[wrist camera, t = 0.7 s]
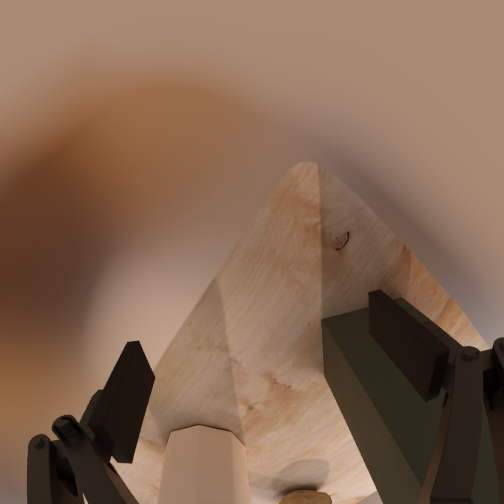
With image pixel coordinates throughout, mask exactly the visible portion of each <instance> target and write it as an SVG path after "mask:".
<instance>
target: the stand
mask: <svg viewBox="0 0 504 504" xmlns="http://www.w3.org/2000/svg"><path fill="white" fill-rule="evenodd" d="M394 301H395V302H396V303H397V304H399V305H400V306H401V307H402V308H403V309H405V310H406V311H407V312H408V313H409V314H411V315H412V316H413V317H414V318H415V319H416V320H418V321H419V322H420V323H422V322H424V321H428V322H430V323H433V324H435V323H434V322H433V321H431V320H430V319H429V318H428V317H426V316H425V315H424V314H422V313H421V312H420V311H419V310H417V309H416V308H415V307H414V306H412V305H411V304H410V303H408V302H407V301H406V300H405V299H403V298H400V299H397V300H394ZM321 323H322V337H323V354H324V374H325V378H326V380H327V383H328V385H329V387H330V389H331V391H332V393H333V395H334V397H335V400H336V402H337V404H338V406H339V408H340V410H341V412H342V415H343V417H344V419H345V421H346V423H347V425H348V427H349V430H350V432H351V434H352V436H353V438H354V440H355V443H356V445H357V447H358V449H359V451H360V453H361V456H362V458H363V460H364V462H365V464H366V467H367V469H368V471H369V473H370V475H371V478H372V480H373V482H374V484H375V486H376V489H377V491H378V493H379V495H380V498H381V500H382V502H383V504H417V502H418V499H419V496H420V493H421V490H422V488H423V485H424V482H425V478H426V475H427V472H428V469H429V465H430V462H431V458H432V454H433V450H434V446H435V442H436V438H437V434H438V429H439V424H440V419H441V414H442V407H441V405H442V402H443V399H444V396H445V393H446V391H445V390H444V389H443V388H442V387H441V390H440V393H439V396H438V397H436V398H434V399H432V400H430V401H428V402H426V403H425V401H424V400H423V399H422V397H421V396H420V395H419V394H418V392H417V391H416V390H415V389H414V387H413V386H412V385H411V384H410V382H409V381H408V380H407V379H406V377H405V376H404V375H403V374H402V372H401V371H400V370H399V369H398V368H397V366H396V365H395V364H394V363H393V361H392V360H391V359H390V358H389V357H388V355H387V354H386V353H385V352H384V350H383V349H382V348H381V347H380V346H379V344H378V343H377V342H376V341H375V340H374V338H373V337H372V336H371V335H370V334H369V308H366V309H362V310H358V311H355V312H351V313H347V314H343V315H339V316H335V317H331V318H327V319H323V320H321ZM435 325H436V324H435ZM436 326H438V325H436ZM438 327H439V326H438ZM439 328H440V327H439ZM440 329H441V328H440ZM441 330H442V329H441ZM443 331H444V330H443ZM444 332H445V331H444ZM445 333H446V332H445ZM446 334H447V333H446ZM447 335H449V334H447ZM449 336H450V335H449ZM450 337H451V336H450ZM451 338H452V337H451ZM452 339H453V338H452ZM453 340H455V339H453ZM455 341H456V340H455ZM456 342H457V341H456ZM457 343H458V342H457ZM458 344H459V343H458ZM459 345H460V346H462V345H461V344H459ZM462 347H463V346H462ZM471 500H472V501H473V504H499V493H498V481H497V471H496V463H495V456H494V450H493V444H492V438H491V433H490V428H489V423H488V419H487V414H486V410H485V406H484V402H483V411H482V427H481V438H480V447H479V455H478V461H477V468H476V473H475V479H474V484H473V488H472V493H471Z"/></svg>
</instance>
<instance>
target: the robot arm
mask: <svg viewBox="0 0 504 504" xmlns="http://www.w3.org/2000/svg"><path fill="white" fill-rule="evenodd" d="M368 295H369V334H370V335H371V336H372V337H373V338H374V340H375V341H376V342H377V343H378V344H379V346H380V347H381V348H382V349H383V350H384V352H385V353H386V354H387V355H388V357H389V358H390V359H391V360H392V361H393V363H394V364H395V365H396V366H397V368H398V369H399V370H400V371H401V372H402V374H403V375H404V376H405V377H406V379H407V380H408V381H409V382H410V384H411V385H412V386H413V387H414V389H415V390H416V391H417V392H418V394H419V395H420V396H421V397H422V399H423V400H424V401H425V403H426V402H428V401H430V400H432V399H434V398H436V397H438V396H439V393H440V390H441V387H442V388H443V389H444V390H445V391H446V393H445V396H444V399H443V402H442V405H441V407H442V414H441V419H440V424H439V429H438V434H437V438H436V442H435V446H434V450H433V454H432V458H431V462H430V465H429V469H428V472H427V475H426V478H425V482H424V485H423V488H422V490H421V493H420V496H419V499H418V502H417V504H473V501H472V500H471V493H472V488H473V484H474V479H475V473H476V468H477V461H478V455H479V447H480V438H481V427H482V411H483V402H484V406H485V410H486V414H487V419H488V423H489V428H490V433H491V438H492V444H493V450H494V456H495V463H496V471H497V481H498V493H499V504H504V337H502V338H498V339H496V340H495V341H494V344H493V348H492V349H489V350H485V351H481V352H480V351H479V350H478V349H477V348H475V347H471V346H465V347H462V346H460V345H459V344H458V343H457V342H456V341H455V340H453V339H452V338H451V337H450V336H449V335H447V334H446V333H445V332H444V331H443V330H441V329H440V328H439V327H438V326H436V325H435V324H433V323H430V322H428V321H424V322H422V323H420V322H419V321H418V320H416V319H415V318H414V317H413V316H412V315H411V314H409V313H408V312H407V311H406V310H405V309H403V308H402V307H401V306H400V305H399V304H397V303H396V302H395V301H394V300H392V299H391V298H390V297H389V296H388V295H386V294H385V293H384V292H383V291H381V290H380V289H379V290H376V291H372V292H369V293H368ZM154 381H155V376H154V373H153V371H152V369H151V367H150V365H149V363H148V360H147V358H146V356H145V354H144V352H143V349H142V346H141V344H140V342H139V341H132V342H127V344H126V346H125V347H124V350H123V351H122V353H121V355H120V357H119V359H118V361H117V363H116V365H115V367H114V369H113V371H112V373H111V375H110V377H109V379H108V381H107V383H106V385H105V387H104V389H103V390H98V391H97V392H96V393H95V394H94V395H93V396H92V398H91V400H90V402H89V404H88V406H87V408H86V410H85V412H84V414H83V416H82V418H81V420H80V422H79V423H78V422H77V421H76V419H75V418H74V417H73V416H72V415H64V416H61V417H59V418H57V419H56V420H55V421H54V423H53V425H52V431H53V432H54V434H55V435H56V436H57V437H58V439H59V440H54V441H51V440H50V439H49V438H48V437H47V436H46V435H44V434H39V435H36V436H34V437H33V438H32V439H31V440H30V442H29V445H28V459H27V501H28V503H27V504H85V503H84V498H83V494H84V496H85V498H86V500H87V502H88V504H139V503H138V501H137V500H136V499H135V497H134V496H133V495H132V493H131V492H130V490H129V489H128V488H127V486H126V485H125V483H124V482H123V480H122V479H121V477H120V476H119V474H118V473H117V471H116V469H115V468H114V466H113V465H112V464H111V463H110V459H111V456H112V457H113V458H114V459H115V460H116V461H117V462H118V463H130V464H132V461H133V457H134V453H135V449H136V446H137V442H138V438H139V434H140V430H141V427H142V423H143V419H144V416H145V412H146V408H147V405H148V401H149V398H150V394H151V391H152V388H153V384H154ZM82 492H83V493H82Z"/></svg>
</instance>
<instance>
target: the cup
mask: <svg viewBox="0 0 504 504" xmlns="http://www.w3.org/2000/svg"><path fill="white" fill-rule="evenodd" d="M158 504H251V503H250V493H249V483H248V473H247V463H246V453H245V447H244V445H243V444H242V443H241V442H240V441H239V440H238V439H237V438H236V437H235V435H234V434H233V433H232V432H229V431H224V430H219V429H214V428H210V427H206V426H201V425H197V426H193V427H189V428H185V429H181V430H177V431H173V432H171V434H170V437H169V440H168V443H167V445H166V450H165V456H164V462H163V469H162V475H161V482H160V489H159V496H158Z"/></svg>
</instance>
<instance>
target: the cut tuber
mask: <svg viewBox="0 0 504 504" xmlns="http://www.w3.org/2000/svg"><path fill="white" fill-rule="evenodd" d="M279 504H332V500H331V497H330V496H329V495H328V494H326V493H323V492H317V491H311V490H296V491H293V492H290V493H289V494H287V495H286V496H285V497H284V498H283V499H282V500H281V501H280V503H279Z"/></svg>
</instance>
